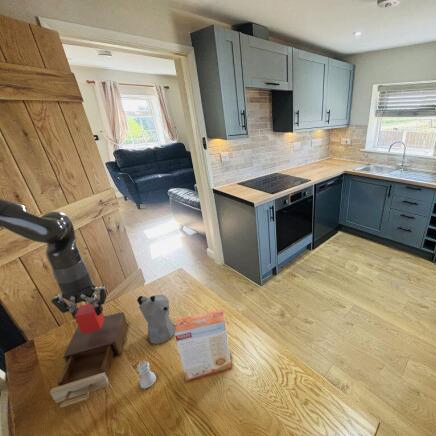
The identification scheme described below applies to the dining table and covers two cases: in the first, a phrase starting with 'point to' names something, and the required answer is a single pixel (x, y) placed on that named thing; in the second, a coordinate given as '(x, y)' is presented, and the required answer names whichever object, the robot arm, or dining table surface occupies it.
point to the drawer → (83, 375)
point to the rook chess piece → (146, 375)
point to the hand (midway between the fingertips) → (89, 315)
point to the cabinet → (99, 337)
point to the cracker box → (203, 344)
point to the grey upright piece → (157, 317)
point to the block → (89, 319)
